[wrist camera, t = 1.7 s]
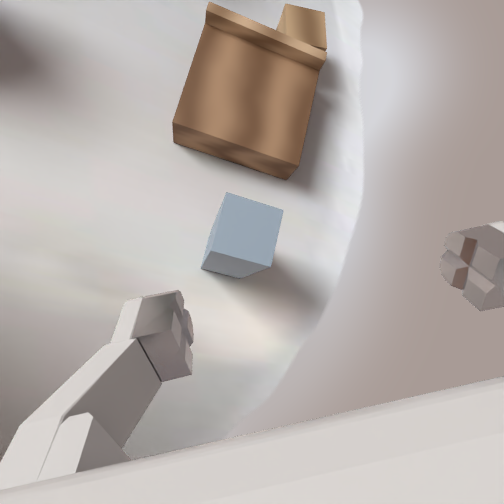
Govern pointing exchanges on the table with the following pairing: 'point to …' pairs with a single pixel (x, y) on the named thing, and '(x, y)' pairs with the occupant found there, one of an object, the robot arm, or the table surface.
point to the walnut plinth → (248, 94)
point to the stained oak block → (304, 25)
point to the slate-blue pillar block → (242, 237)
